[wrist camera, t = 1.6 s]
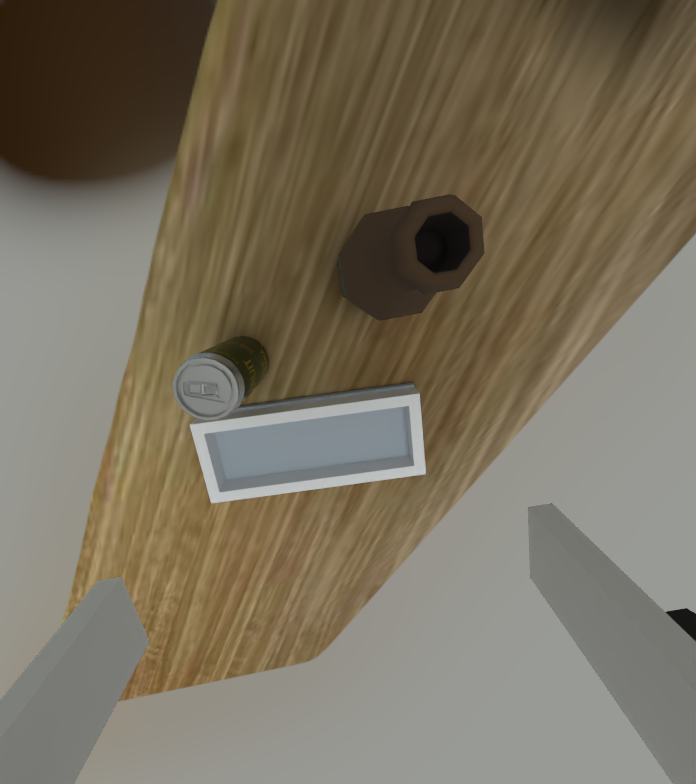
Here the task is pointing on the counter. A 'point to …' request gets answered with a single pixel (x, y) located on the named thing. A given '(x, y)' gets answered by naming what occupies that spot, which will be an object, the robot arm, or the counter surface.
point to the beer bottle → (410, 255)
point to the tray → (312, 443)
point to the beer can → (220, 378)
